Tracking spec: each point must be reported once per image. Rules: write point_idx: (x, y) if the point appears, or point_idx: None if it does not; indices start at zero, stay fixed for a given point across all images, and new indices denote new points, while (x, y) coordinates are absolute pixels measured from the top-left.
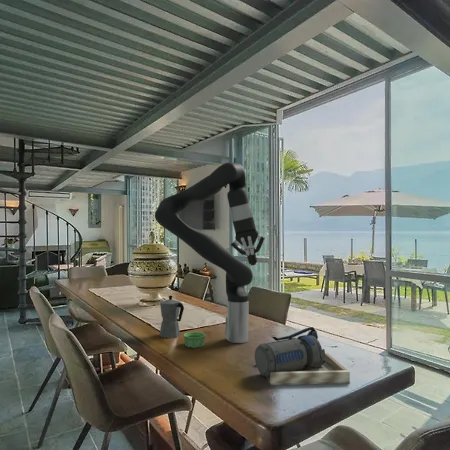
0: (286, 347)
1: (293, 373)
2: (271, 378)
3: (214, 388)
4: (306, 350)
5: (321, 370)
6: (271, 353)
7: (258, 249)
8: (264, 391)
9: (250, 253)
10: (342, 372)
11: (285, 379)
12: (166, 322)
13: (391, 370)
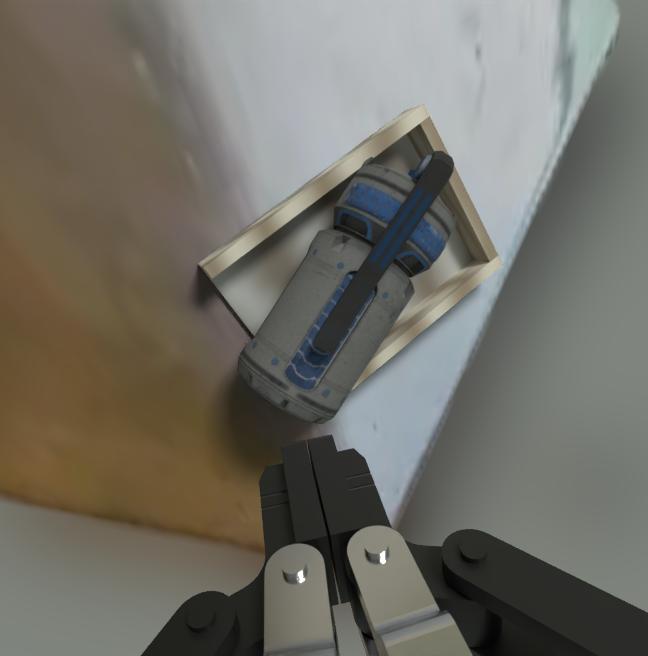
0: (369, 356)
1: (372, 372)
2: None
3: (178, 523)
4: (409, 275)
5: None
6: (331, 417)
7: (509, 636)
8: None
9: (328, 587)
10: (485, 277)
11: None
12: None
13: (574, 89)
